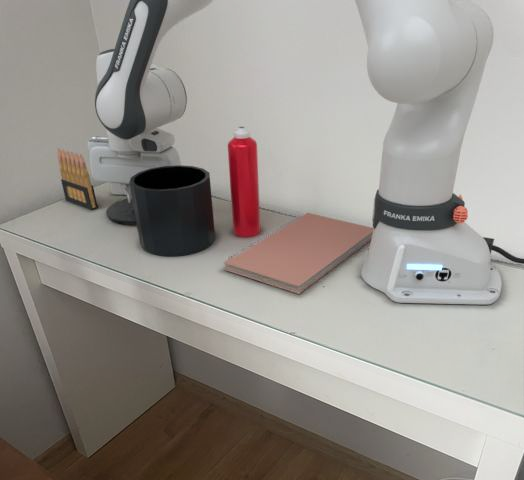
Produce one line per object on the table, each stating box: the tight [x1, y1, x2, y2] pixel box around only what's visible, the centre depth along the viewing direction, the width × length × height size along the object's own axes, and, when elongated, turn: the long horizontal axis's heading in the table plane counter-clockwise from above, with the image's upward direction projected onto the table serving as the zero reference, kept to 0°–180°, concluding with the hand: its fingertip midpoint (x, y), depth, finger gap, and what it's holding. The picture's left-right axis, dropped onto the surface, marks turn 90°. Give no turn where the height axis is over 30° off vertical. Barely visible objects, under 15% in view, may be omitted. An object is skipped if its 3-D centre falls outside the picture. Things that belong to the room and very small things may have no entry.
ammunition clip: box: [56, 147, 99, 211], centre depth 120 cm, size 11×2×12 cm, turn 49°
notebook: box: [223, 212, 374, 295], centre depth 98 cm, size 27×17×2 cm, turn 143°
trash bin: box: [129, 164, 216, 257], centre depth 101 cm, size 15×15×12 cm
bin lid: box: [105, 197, 137, 225], centre depth 116 cm, size 16×16×5 cm
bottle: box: [227, 126, 261, 238], centre depth 101 cm, size 6×6×20 cm
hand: (141, 203), depth 116 cm, fingers closed on bin lid, 2 cm apart
